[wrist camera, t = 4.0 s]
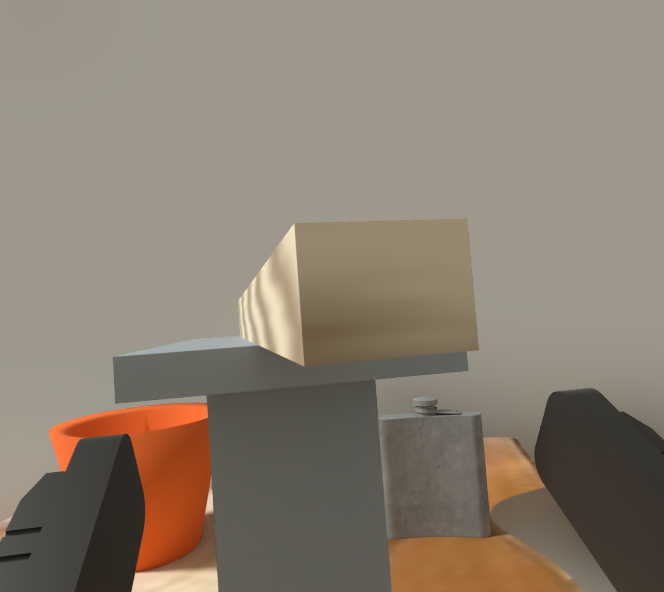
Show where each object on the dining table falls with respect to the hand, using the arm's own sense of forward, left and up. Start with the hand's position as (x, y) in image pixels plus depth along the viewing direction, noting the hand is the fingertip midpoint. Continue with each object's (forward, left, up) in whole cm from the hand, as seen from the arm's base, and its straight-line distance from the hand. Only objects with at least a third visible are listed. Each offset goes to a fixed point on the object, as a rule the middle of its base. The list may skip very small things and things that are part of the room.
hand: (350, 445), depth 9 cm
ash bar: (-8, +15, +2) cm, 17 cm away
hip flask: (-12, +66, -31) cm, 74 cm away
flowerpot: (-54, +52, -31) cm, 81 cm away
